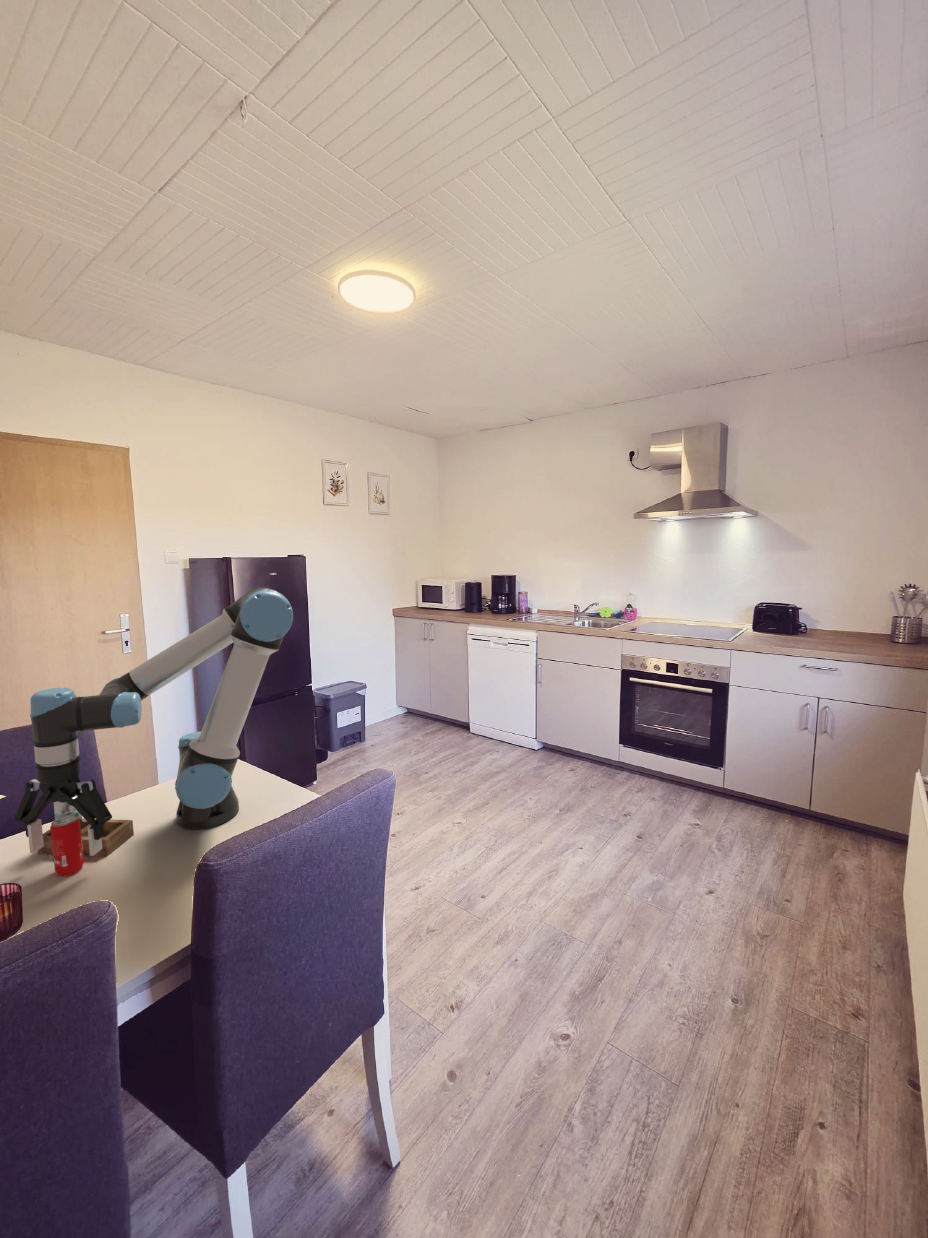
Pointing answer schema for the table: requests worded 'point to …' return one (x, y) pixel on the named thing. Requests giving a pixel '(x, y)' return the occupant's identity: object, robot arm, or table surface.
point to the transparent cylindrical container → (66, 811)
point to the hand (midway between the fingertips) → (66, 851)
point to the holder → (112, 839)
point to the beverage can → (67, 845)
